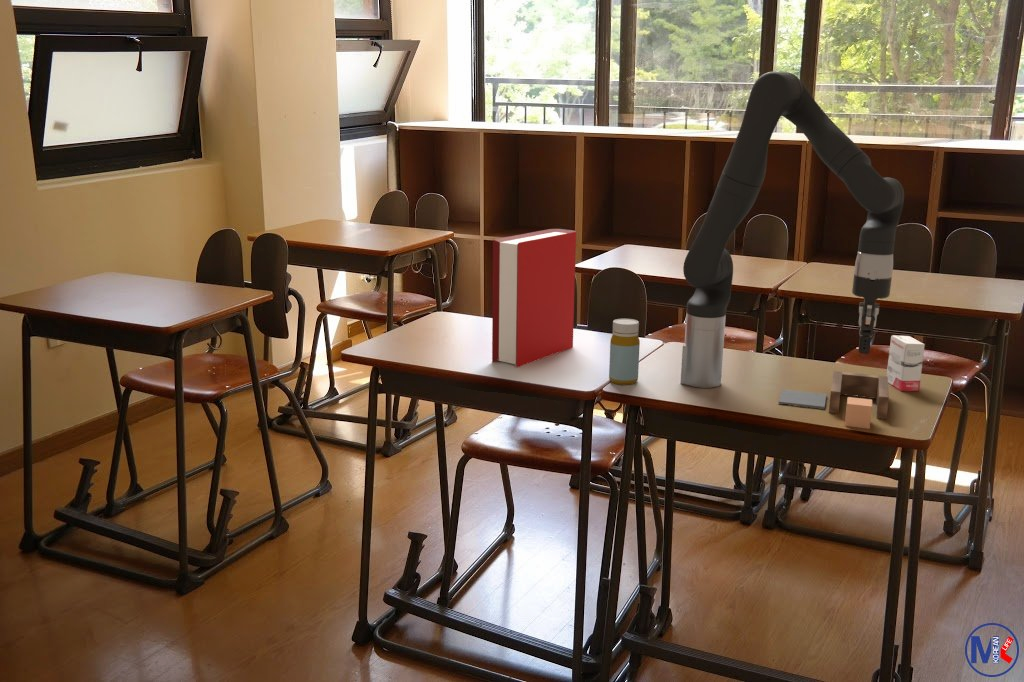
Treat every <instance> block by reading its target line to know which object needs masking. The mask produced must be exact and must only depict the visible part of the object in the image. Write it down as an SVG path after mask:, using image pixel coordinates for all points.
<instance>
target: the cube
mask: <svg viewBox="0 0 1024 682" xmlns="http://www.w3.org/2000/svg"><path fill="white" fill-rule="evenodd" d="M846 398H847V399H846V409H845V416H844V417H845V419H844V426H846V427H853V428H860V429H861V428H863V429H870V430H871V421H872V410H873V399H872V398H863V397H860V398H859V397H853V396H848V397H846Z"/></svg>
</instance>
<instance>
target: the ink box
mask: <svg viewBox="0 0 1024 682" xmlns="http://www.w3.org/2000/svg"><path fill="white" fill-rule="evenodd" d="M925 346H926V344H925V343H923V342H921V341H919V340H917V339H915V338H913V337H912V336H910V335H896V334H895V335H894V334H893V335H891V336H890V345H889V350H888V351H889V352H888V358H887V359H888V361H887V369H886V376H888V384H889V385H891V386H893V387H894V388H895V389H897V390H898V391H900V392H919V391H920V388H921V378H922V370H923V360H924V354H925V353H924V352H925Z"/></svg>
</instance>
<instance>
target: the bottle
mask: <svg viewBox="0 0 1024 682" xmlns="http://www.w3.org/2000/svg"><path fill="white" fill-rule="evenodd" d="M639 322H640V321H638V320H637V319H633V318H617V319H614V320H613V321H612V335H611V337H610V343H609V344H610V345H609V368H608V369H609V370H608V379H609V381H610V382H611V383H612V384H615V385H619V386H631V385H634V384H636V383H637V382H638V381H639V369H640V368H639V367H640V366H639V365H640V341H641V340H640V338H639V328H640V327H639V325H640V323H639Z"/></svg>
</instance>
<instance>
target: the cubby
mask: <svg viewBox="0 0 1024 682" xmlns="http://www.w3.org/2000/svg"><path fill="white" fill-rule="evenodd" d="M840 394H847V395H846V396H849V395H858V396H865V397H864V398H867V397H874V398H873V399H875V401H876V402H875V403H876V404H877V410H876V418H877V419H880V418H881V419H880V420H882V419H883V420H887V418H888V408H889V399H890V391H889V383H888V376H887V375H876V374H865V373H857V372H849V371H847V372H845V371H838V370H833V373H832V379H831V388H830V396H829V397H830V398H829V403H828V404H829V406H828V413H831V414H837V413H838V414H839V409H840V398H841V395H840ZM858 396H857V397H858Z"/></svg>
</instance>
